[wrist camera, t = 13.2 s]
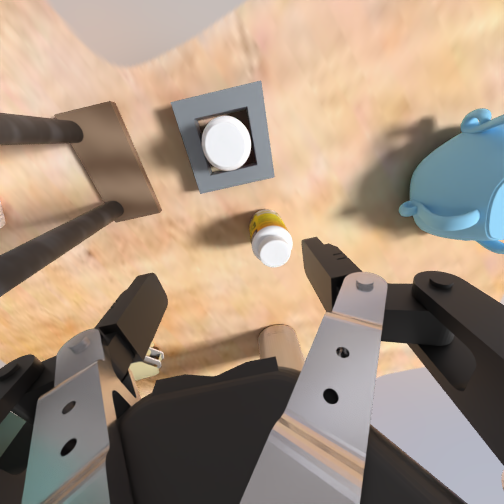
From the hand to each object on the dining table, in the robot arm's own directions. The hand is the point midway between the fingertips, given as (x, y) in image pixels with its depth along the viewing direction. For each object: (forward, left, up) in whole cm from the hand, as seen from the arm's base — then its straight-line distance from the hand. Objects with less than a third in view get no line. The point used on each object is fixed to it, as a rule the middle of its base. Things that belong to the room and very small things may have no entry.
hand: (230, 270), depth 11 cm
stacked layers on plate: (-32, +28, -24) cm, 48 cm away
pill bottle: (+6, -1, -23) cm, 24 cm away
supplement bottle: (-7, -4, -23) cm, 24 cm away
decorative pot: (-6, -34, -23) cm, 41 cm away
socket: (+6, -1, -23) cm, 24 cm away
